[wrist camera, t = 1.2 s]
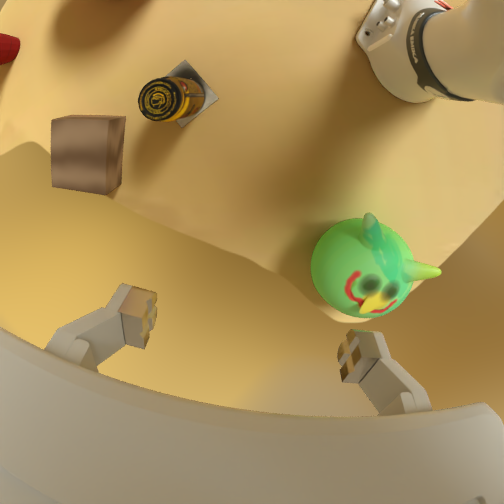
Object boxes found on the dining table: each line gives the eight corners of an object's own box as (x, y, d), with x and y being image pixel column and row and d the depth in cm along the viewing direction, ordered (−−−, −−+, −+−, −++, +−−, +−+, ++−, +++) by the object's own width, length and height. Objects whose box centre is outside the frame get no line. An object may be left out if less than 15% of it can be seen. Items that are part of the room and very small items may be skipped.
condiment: (182, 128, 40) (153, 139, 29) (150, 90, 36) (112, 91, 26) (219, 98, 37) (201, 98, 27) (185, 59, 34) (156, 48, 24)
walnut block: (72, 114, 38) (51, 119, 33) (126, 116, 39) (108, 120, 34) (70, 176, 44) (52, 186, 39) (122, 183, 45) (105, 195, 40)
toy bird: (289, 260, 51) (295, 317, 38) (342, 181, 43) (371, 219, 30) (363, 295, 54) (383, 350, 42) (415, 231, 46) (453, 277, 34)
